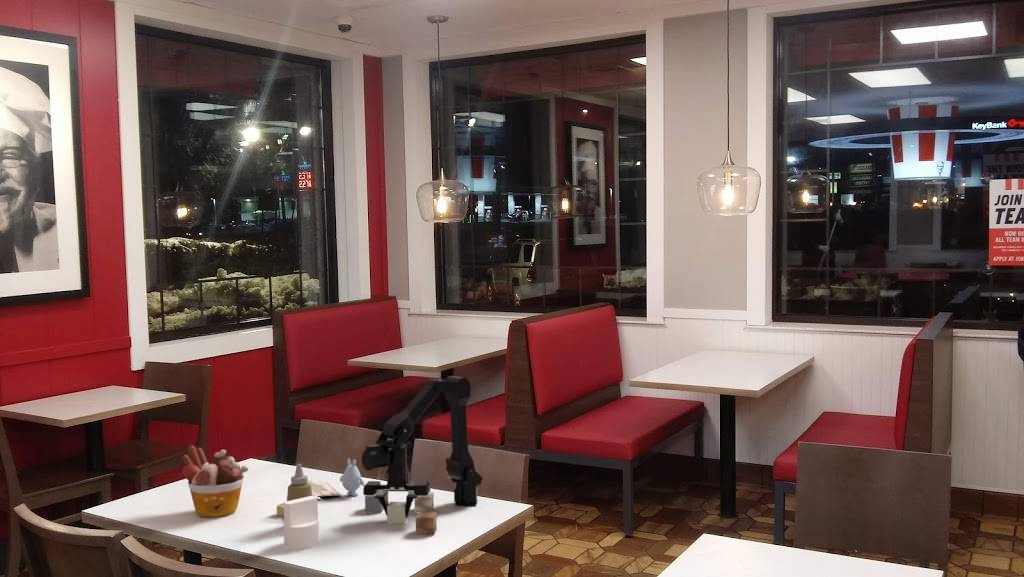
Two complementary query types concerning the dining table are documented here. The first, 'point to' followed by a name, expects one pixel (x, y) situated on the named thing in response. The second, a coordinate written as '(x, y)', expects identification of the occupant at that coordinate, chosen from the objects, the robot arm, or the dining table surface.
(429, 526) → the walnut block
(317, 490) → the newspaper
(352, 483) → the toy figure
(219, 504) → the bucket of meat
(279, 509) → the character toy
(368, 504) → the slate block
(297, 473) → the squeeze bottle
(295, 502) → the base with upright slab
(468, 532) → the dining table surface
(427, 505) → the cream block
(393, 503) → the sage block
